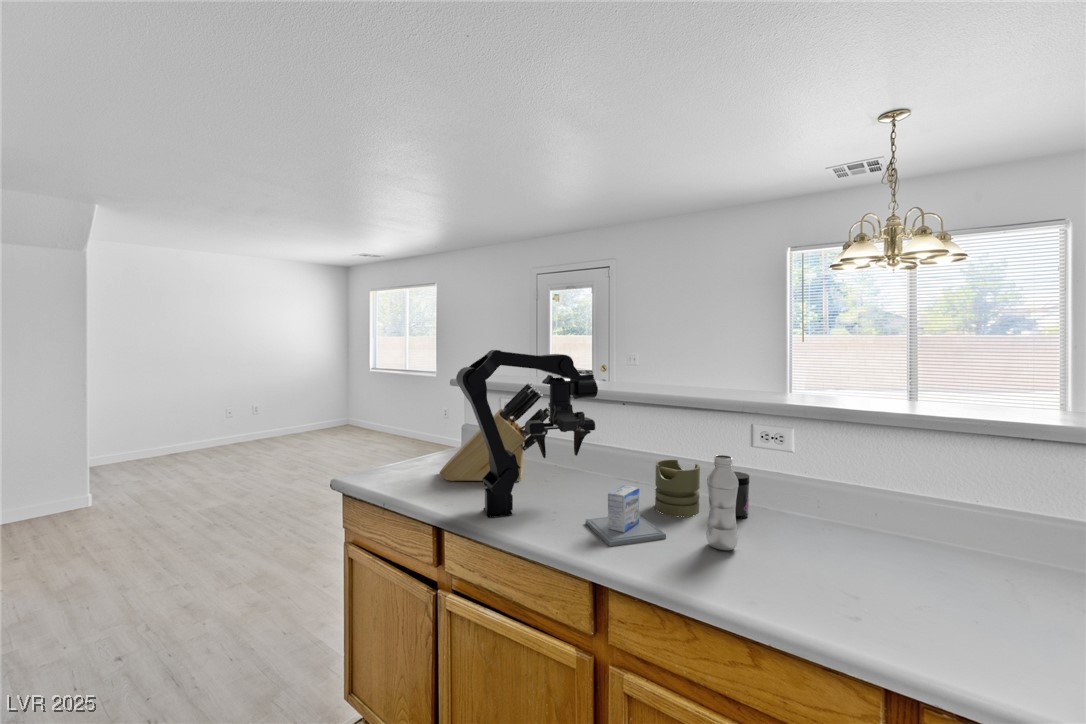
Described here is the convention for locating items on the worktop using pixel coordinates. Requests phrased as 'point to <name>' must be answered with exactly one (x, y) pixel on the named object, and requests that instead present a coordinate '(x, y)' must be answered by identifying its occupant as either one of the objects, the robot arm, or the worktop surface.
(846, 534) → the worktop surface
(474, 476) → the knife block
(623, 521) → the medicine box
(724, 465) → the plastic bottle
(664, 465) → the piston
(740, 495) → the supplement container
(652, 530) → the slate pad
